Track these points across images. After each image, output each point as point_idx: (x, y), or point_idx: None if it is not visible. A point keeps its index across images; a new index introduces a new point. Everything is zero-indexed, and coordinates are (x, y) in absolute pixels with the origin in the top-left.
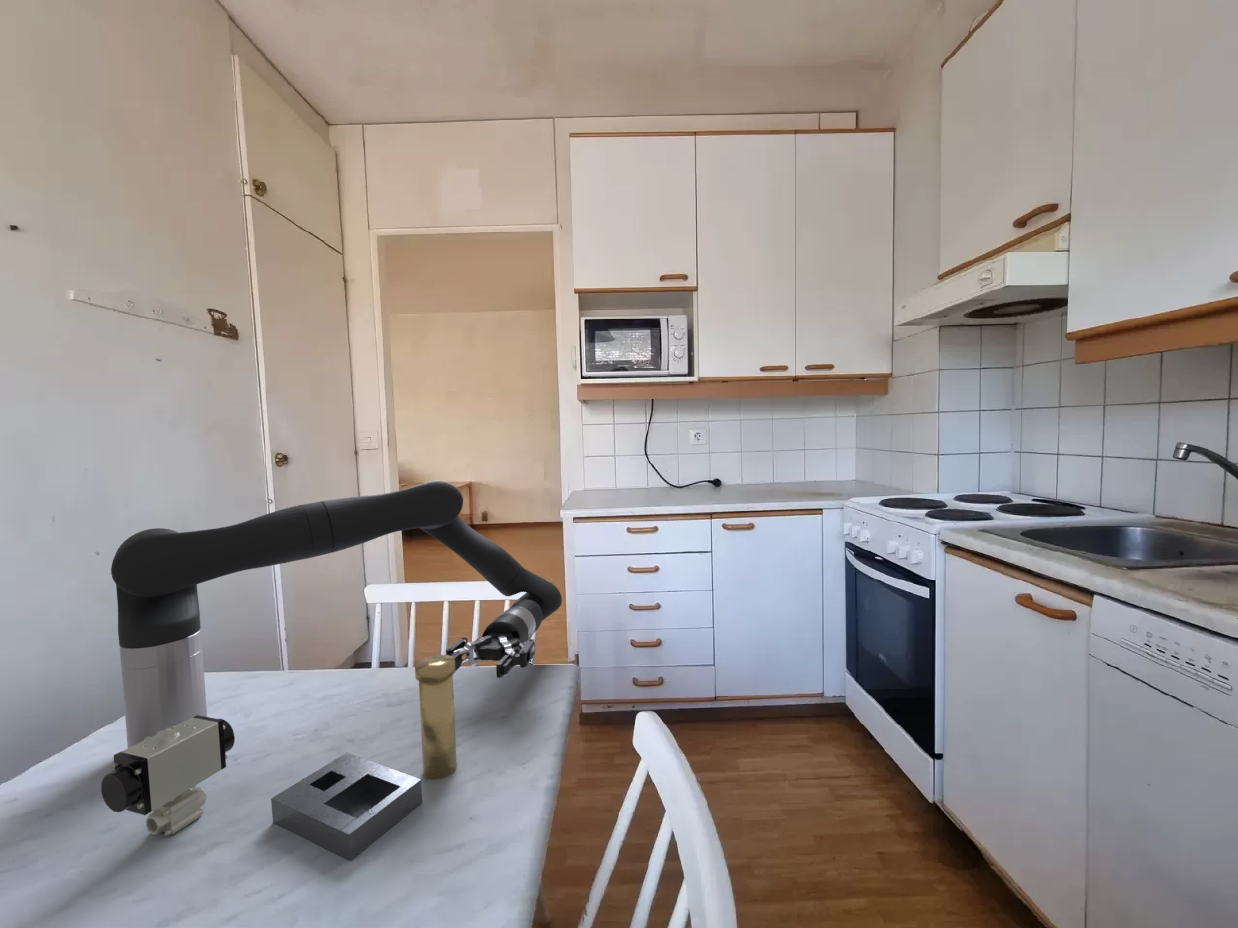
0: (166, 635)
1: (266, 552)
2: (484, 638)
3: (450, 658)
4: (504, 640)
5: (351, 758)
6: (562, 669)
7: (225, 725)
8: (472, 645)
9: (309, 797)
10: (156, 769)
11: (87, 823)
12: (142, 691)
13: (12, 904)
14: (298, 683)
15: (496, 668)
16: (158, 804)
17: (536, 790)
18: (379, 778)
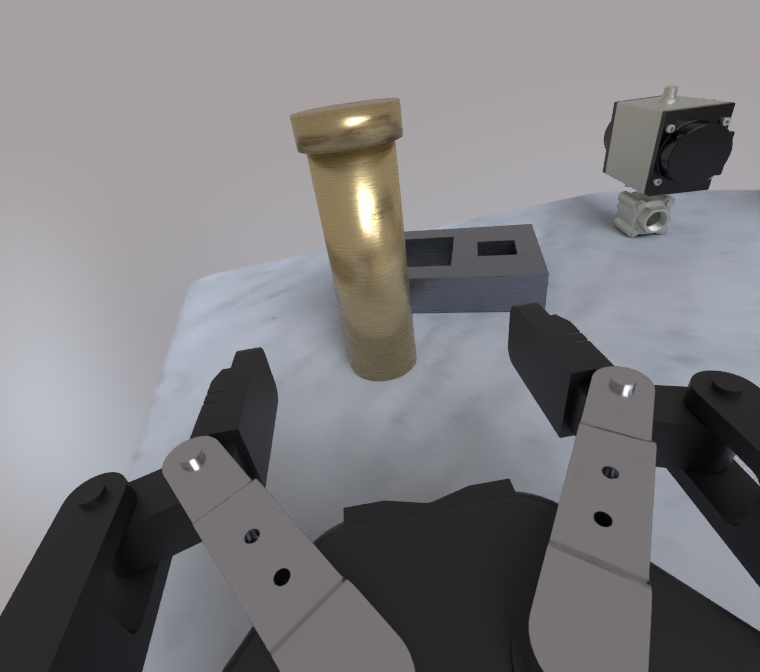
0: None
1: None
2: (573, 564)
3: (311, 114)
4: (298, 622)
5: (519, 270)
6: None
7: (683, 132)
8: (576, 442)
9: (484, 235)
10: (617, 125)
11: (739, 207)
12: None
13: (622, 191)
14: None
15: (263, 355)
16: (608, 171)
17: (178, 372)
18: (423, 267)
